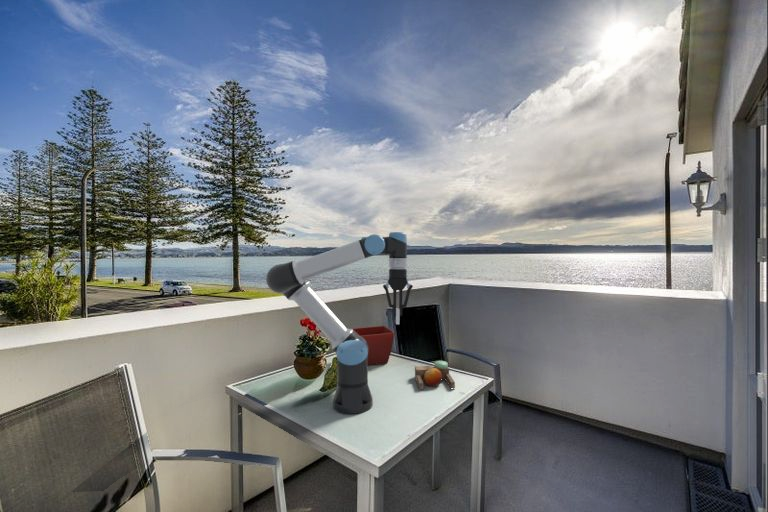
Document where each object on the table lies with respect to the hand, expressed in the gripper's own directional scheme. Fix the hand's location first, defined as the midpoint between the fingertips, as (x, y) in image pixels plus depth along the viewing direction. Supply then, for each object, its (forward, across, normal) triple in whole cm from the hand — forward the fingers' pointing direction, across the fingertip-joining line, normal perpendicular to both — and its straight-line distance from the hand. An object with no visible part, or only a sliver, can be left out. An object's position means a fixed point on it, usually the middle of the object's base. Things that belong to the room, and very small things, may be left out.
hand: (397, 323), depth 141 cm
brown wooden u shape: (+28, +17, +4) cm, 33 cm away
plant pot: (+29, -11, +38) cm, 49 cm away
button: (+28, +21, +12) cm, 37 cm away
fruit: (+28, +16, +5) cm, 33 cm away
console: (+28, +16, +12) cm, 34 cm away
